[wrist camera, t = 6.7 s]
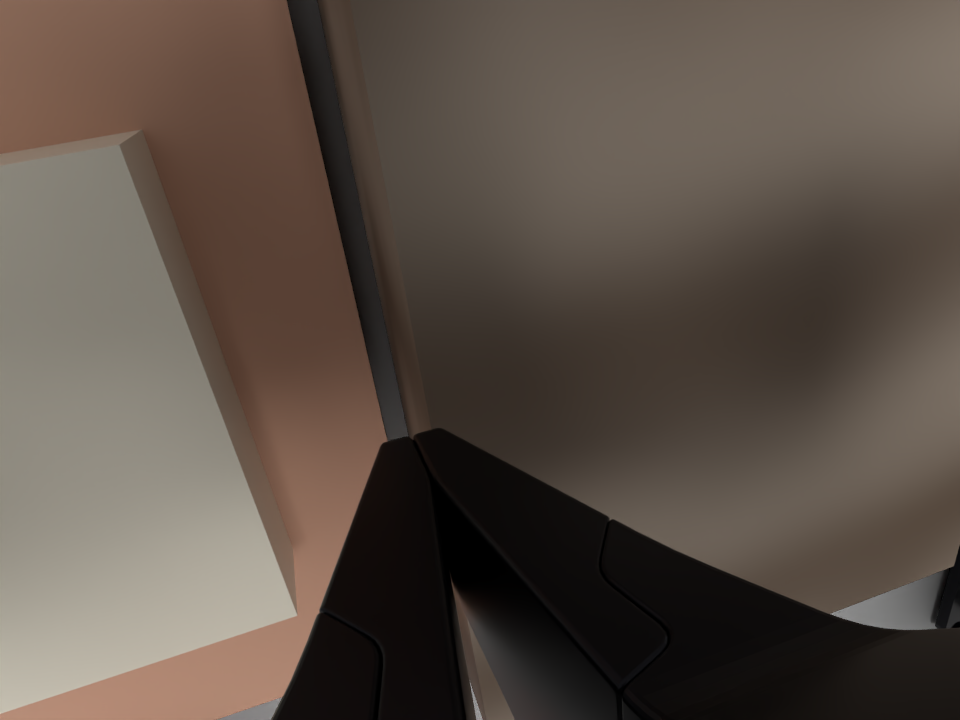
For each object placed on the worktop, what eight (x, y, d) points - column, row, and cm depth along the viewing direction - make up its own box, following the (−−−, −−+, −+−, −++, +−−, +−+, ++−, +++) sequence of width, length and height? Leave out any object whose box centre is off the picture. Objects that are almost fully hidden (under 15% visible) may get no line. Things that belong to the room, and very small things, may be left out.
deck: (830, 475, 20) (953, 566, 16) (443, 602, 17) (491, 743, 14) (932, -212, 12) (1198, -315, 9) (282, -164, 10) (296, -282, 6)
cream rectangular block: (-41, 726, 12) (-2, 640, 13) (297, 615, 13) (292, 548, 15) (-432, 242, 8) (-303, 206, 9) (119, 144, 9) (141, 129, 10)
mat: (431, 635, 17) (433, 644, 17) (19, 776, 15) (15, 788, 15) (228, -250, 9) (227, -259, 9) (-716, -205, 7) (-754, -214, 7)
